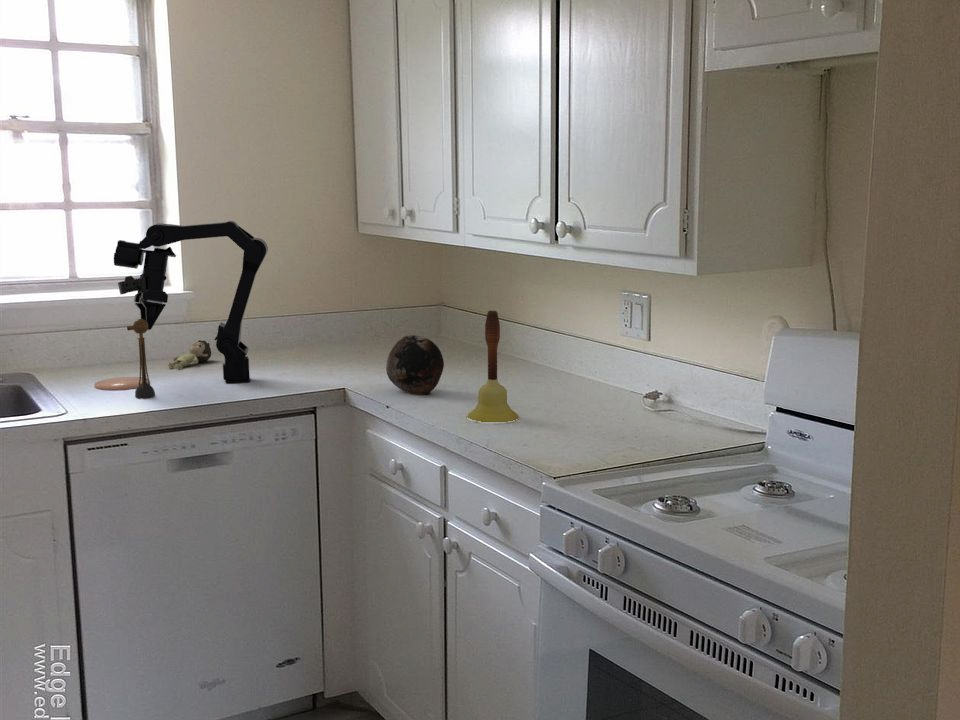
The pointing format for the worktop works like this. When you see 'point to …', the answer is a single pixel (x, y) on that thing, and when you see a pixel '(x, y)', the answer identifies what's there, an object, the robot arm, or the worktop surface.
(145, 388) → the wooden tabletop sculpture
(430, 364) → the decorative stone
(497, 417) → the handbell
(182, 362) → the figurine
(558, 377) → the worktop surface
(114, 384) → the coaster
